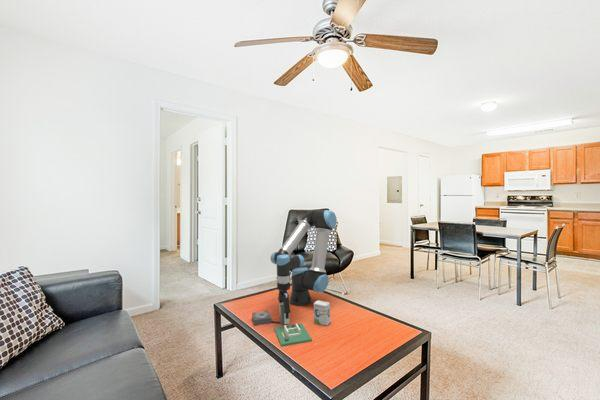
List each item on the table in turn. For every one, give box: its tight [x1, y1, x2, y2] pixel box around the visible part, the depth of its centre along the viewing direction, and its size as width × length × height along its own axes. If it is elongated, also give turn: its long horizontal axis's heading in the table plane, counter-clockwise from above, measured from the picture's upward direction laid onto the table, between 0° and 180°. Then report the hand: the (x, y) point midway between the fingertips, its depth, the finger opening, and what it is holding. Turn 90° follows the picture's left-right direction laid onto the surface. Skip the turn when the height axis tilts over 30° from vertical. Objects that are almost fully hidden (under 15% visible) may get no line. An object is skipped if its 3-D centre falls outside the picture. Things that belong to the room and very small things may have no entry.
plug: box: [278, 305, 287, 326], centre depth 161 cm, size 5×4×10 cm
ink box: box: [313, 299, 331, 326], centre depth 161 cm, size 9×5×12 cm, turn 62°
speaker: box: [251, 310, 273, 326], centre depth 165 cm, size 10×10×4 cm
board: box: [274, 322, 313, 347], centre depth 148 cm, size 16×18×4 cm
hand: (284, 318), depth 161 cm, fingers open, 13 cm apart
